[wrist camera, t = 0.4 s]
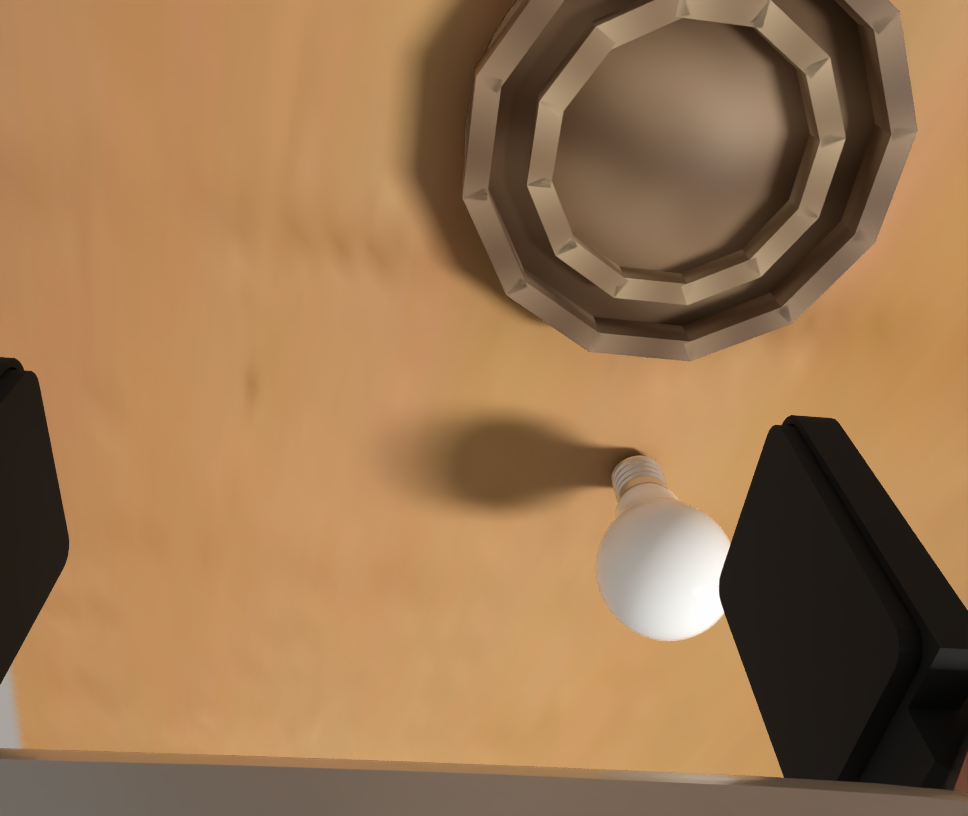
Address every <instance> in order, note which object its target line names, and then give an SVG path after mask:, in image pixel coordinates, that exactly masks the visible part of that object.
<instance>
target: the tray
mask: <svg viewBox="0 0 968 816" xmlns="http://www.w3.org/2000/svg"><path fill="white" fill-rule="evenodd" d="M917 131H918V130H917V123H916V117H915V110H914V103H913V97H912V90H911V83H910V77H909V70H908V63H907V57H906V50H905V43H904V37H903V30H902V24H901V17H900V11H899V10H898V9H897V8H896V7H895V6H894V5H893V4H892V3H891V2H890V1H889V0H516V2H515V3H514V4H513V5H512V7H511V8H510V9H509V10H508V12H507V14H506V15H505V17H504V19H503V20H502V22H501V23H500V25H499V27H498V28H497V30H496V32H495V33H494V35H493V36H492V38H491V41H490V43H489V45H488V47H487V49H486V52H485V54H484V56H483V58H482V59H481V61H480V62H479V63H478V65H477V66H476V68H475V73H474V82H473V87H472V91H471V94H470V99H469V105H468V111H467V117H466V122H465V144H464V156H465V163H464V172H463V181H462V198H463V200H464V203H465V205H466V207H467V209H468V211H469V214H470V216H471V218H472V220H473V222H474V225H475V227H476V229H477V231H478V234H479V236H480V238H481V240H482V242H483V245H484V247H485V249H486V251H487V254H488V256H489V258H490V260H491V262H492V265H493V267H494V269H495V271H496V274H497V276H498V278H499V280H500V282H501V285H502V287H503V289H504V291H505V294H506V296H508V297H509V298H511V299H512V300H514V301H515V302H517V303H518V304H520V305H521V306H523V307H524V308H526V309H527V310H528V311H530V312H531V313H533V314H534V315H536V316H537V317H539V318H540V319H542V320H543V321H545V322H546V323H547V324H549V325H550V326H552V327H553V328H555V329H556V330H558V331H559V332H561V333H562V334H564V335H565V336H566V337H568V338H569V339H571V340H572V341H574V342H575V343H577V344H578V345H580V346H581V347H583V348H584V349H585V350H587V351H588V352H596V353H607V354H618V355H628V356H639V357H650V358H661V359H671V360H682V361H692V360H695V359H698V358H700V357H703V356H706V355H708V354H711V353H714V352H717V351H719V350H722V349H725V348H727V347H730V346H733V345H735V344H738V343H741V342H744V341H746V340H749V339H752V338H754V337H757V336H760V335H763V334H765V333H768V332H771V331H773V330H776V329H779V328H781V327H784V326H787V325H790V324H792V323H793V322H794V321H795V320H796V319H797V318H798V317H799V316H800V315H801V314H802V313H803V312H804V311H805V310H806V309H807V308H809V307H810V306H811V305H812V304H813V303H814V302H815V301H816V300H817V299H818V298H819V297H820V296H821V295H822V294H823V293H824V292H825V291H826V290H827V289H828V288H829V287H830V286H831V285H832V284H833V283H834V282H835V281H836V280H837V279H838V278H839V277H840V276H841V275H842V274H843V273H844V272H846V271H847V270H848V269H849V268H850V267H851V266H852V265H853V264H854V263H855V262H856V261H857V260H858V259H859V258H860V257H861V256H862V255H863V254H864V253H865V252H866V251H867V250H868V249H869V248H870V247H871V246H872V245H873V244H874V243H875V241H876V239H877V236H878V234H879V231H880V228H881V226H882V223H883V220H884V218H885V215H886V213H887V210H888V207H889V205H890V202H891V199H892V197H893V194H894V191H895V189H896V186H897V184H898V181H899V178H900V176H901V173H902V170H903V168H904V165H905V163H906V160H907V157H908V155H909V152H910V149H911V147H912V144H913V142H914V139H915V136H916V134H917Z"/></svg>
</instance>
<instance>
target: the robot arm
mask: <svg viewBox="0 0 968 816" xmlns="http://www.w3.org/2000/svg"><path fill="white" fill-rule="evenodd" d="M68 551H69V536H68V531H67V525H66V520H65V515H64V510H63V505H62V500H61V494H60V489H59V484H58V479H57V474H56V469H55V463H54V458H53V453H52V448H51V443H50V437H49V432H48V427H47V422H46V417H45V412H44V406H43V401H42V396H41V391H40V386H39V382H38V378H37V376H36V375H35V373H33V372H32V371H24V369H23V366H22V365H21V363H20V361H18V360H17V359H15V358H4V357H0V684H1V682H2V680H3V679H4V677H5V675H6V673H7V671H8V669H9V668H10V666H11V664H12V662H13V660H14V658H15V657H16V655H17V653H18V651H19V649H20V647H21V646H22V644H23V642H24V640H25V638H26V636H27V634H28V633H29V631H30V629H31V627H32V625H33V623H34V622H35V620H36V618H37V616H38V614H39V612H40V610H41V609H42V607H43V605H44V603H45V601H46V599H47V598H48V596H49V594H50V592H51V590H52V588H53V587H54V585H55V583H56V581H57V579H58V577H59V575H60V574H61V572H62V570H63V568H64V566H65V563H66V560H67V557H68ZM719 597H720V601H721V605H722V607H723V610H724V613H725V616H726V618H727V621H728V624H729V627H730V630H731V632H732V635H733V638H734V641H735V643H736V646H737V649H738V652H739V654H740V657H741V660H742V663H743V665H744V668H745V671H746V674H747V676H748V679H749V682H750V685H751V687H752V690H753V693H754V696H755V698H756V701H757V704H758V707H759V710H760V712H761V715H762V718H763V721H764V723H765V726H766V729H767V732H768V734H769V737H770V740H771V743H772V745H773V748H774V751H775V754H776V756H777V759H778V762H779V765H780V767H781V770H782V773H783V776H784V778H778V777H761V776H745V775H721V774H698V773H675V772H651V771H628V770H604V769H581V768H558V767H534V766H508V765H482V764H456V763H430V762H403V761H376V760H348V759H321V758H293V757H266V756H235V755H204V754H172V753H141V752H109V751H78V750H46V749H4V748H3V749H1V748H0V816H968V610H967V609H966V607H965V606H964V605H963V603H962V602H961V600H960V599H959V597H958V596H957V594H956V593H955V591H954V590H953V589H952V587H951V586H950V584H949V583H948V581H947V580H946V578H945V577H944V575H943V574H942V572H941V571H940V570H939V568H938V567H937V565H936V564H935V562H934V561H933V559H932V558H931V556H930V555H929V554H928V552H927V551H926V549H925V548H924V546H923V545H922V543H921V542H920V540H919V539H918V538H917V536H916V535H915V533H914V532H913V530H912V529H911V527H910V526H909V524H908V523H907V521H906V520H905V519H904V517H903V516H902V514H901V513H900V511H899V510H898V508H897V507H896V505H895V504H894V503H893V501H892V500H891V498H890V497H889V495H888V494H887V492H886V491H885V489H884V488H883V486H882V485H881V484H880V482H879V481H878V479H877V478H876V476H875V475H874V473H873V472H872V470H871V469H870V468H869V466H868V465H867V463H866V462H865V460H864V459H863V457H862V456H861V454H860V453H859V451H858V450H857V449H856V447H855V446H854V444H853V443H852V441H851V440H850V438H849V437H848V435H847V434H846V433H845V431H844V430H843V428H842V427H841V425H840V424H839V423H838V422H837V421H836V420H835V419H832V418H822V417H809V416H795V415H791V416H789V417H787V418H786V419H785V421H784V422H783V424H782V425H774V426H772V428H771V429H770V430H769V433H768V435H767V438H766V440H765V443H764V446H763V449H762V452H761V455H760V458H759V461H758V464H757V467H756V470H755V473H754V476H753V479H752V482H751V485H750V488H749V491H748V494H747V497H746V500H745V503H744V506H743V509H742V512H741V515H740V518H739V521H738V524H737V527H736V530H735V533H734V536H733V539H732V542H731V544H730V547H729V550H728V553H727V556H726V559H725V562H724V565H723V568H722V571H721V575H720V579H719Z"/></svg>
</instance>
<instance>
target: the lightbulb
mask: <svg viewBox="0 0 968 816" xmlns="http://www.w3.org/2000/svg"><path fill="white" fill-rule="evenodd" d="M612 484H613V487H614V492H615V496H616V499H617V503H618V504H617V507H616V511H615V519H614V521H613V522H612V523H611V524H610V526H609V527H608V528H607V530H606V532H605V533H604V535H603V537H602V539H601V542H600V544H599V547H598V551H597V556H596V565H595V570H596V580H597V585H598V588H599V591H600V594H601V596H602V599H603V601H604V602H605V604H606V606H607V607H608V609H609V610H610V612H611V613H612V614H613V615H614V617H615V618H616V619H617V620H618V621H619V622H620V623H622V624H623V625H624V626H625V627H627V628H628V629H630V630H631V631H633V632H635V633H637V634H639V635H641V636H644V637H647V638H650V639H654V640H660V641H678V640H684V639H688V638H691V637H694V636H696V635H699V634H701V633H703V632H704V631H706V630H707V629H709V628H710V627H712V626H713V625H714V624H715V623H716V622H717V621H718V620H719V619H720V618H721V617H722V616H723V614H724V610H723V607H722V605H721V601H720V597H719V579H720V575H721V571H722V568H723V565H724V562H725V559H726V556H727V553H728V550H729V547H730V544H731V543H730V541H729V539H728V537H727V535H726V534H725V532H724V531H723V530H722V528H721V527H720V526H719V525H718V524H717V522H716V521H715V520H713V519H712V518H711V517H710V516H709V515H707V514H706V513H705V512H703V511H702V510H700V509H698V508H696V507H694V506H692V505H690V504H687V503H685V502H681V501H679V499H678V498H677V497H676V495H675V494H674V493H673V492H671V491H670V490H669V489H668V487H667V483H666V481H665V478H664V475H663V472H662V469H661V466H660V465H659V463H658V462H657V461H656V460H654V459H652V458H650V457H648V456H641V455H638V456H632V457H629V458H626V459H624V460H623V461H621V462H620V463H619V464H618V465H617V466H616V467H615V468H614V470H613V473H612Z"/></svg>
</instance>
